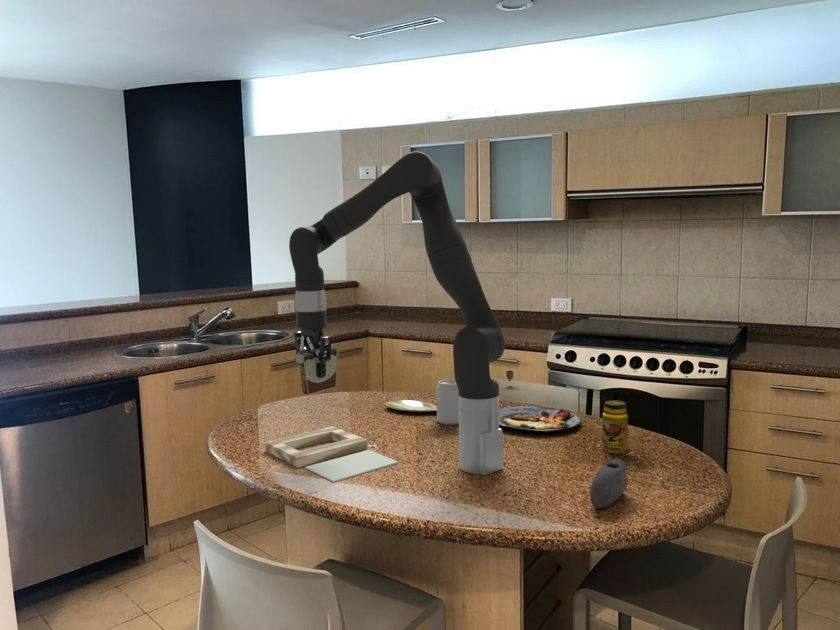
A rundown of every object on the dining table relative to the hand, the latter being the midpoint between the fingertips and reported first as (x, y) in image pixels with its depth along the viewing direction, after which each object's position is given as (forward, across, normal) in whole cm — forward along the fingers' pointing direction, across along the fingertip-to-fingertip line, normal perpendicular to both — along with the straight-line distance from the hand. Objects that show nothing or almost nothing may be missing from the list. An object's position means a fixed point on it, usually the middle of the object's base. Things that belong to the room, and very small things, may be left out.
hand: (313, 375), depth 168 cm
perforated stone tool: (+20, -68, -26) cm, 75 cm away
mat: (+19, -16, 0) cm, 25 cm away
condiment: (+20, -50, -55) cm, 77 cm away
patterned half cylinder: (+4, 0, 0) cm, 4 cm away
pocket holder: (+19, 0, 0) cm, 19 cm away
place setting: (+20, +20, -77) cm, 82 cm away
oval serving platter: (+20, +5, -44) cm, 49 cm away
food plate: (+20, -22, -57) cm, 65 cm away
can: (+20, -5, -41) cm, 46 cm away
